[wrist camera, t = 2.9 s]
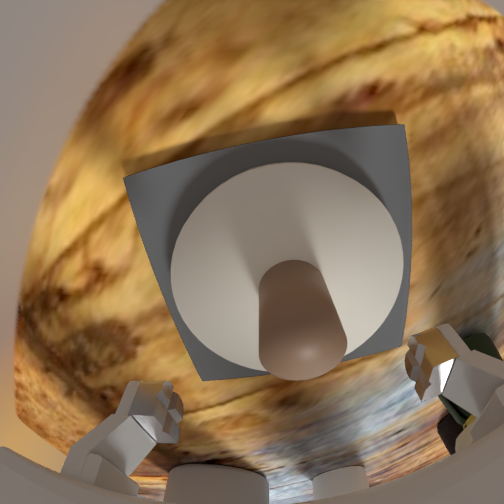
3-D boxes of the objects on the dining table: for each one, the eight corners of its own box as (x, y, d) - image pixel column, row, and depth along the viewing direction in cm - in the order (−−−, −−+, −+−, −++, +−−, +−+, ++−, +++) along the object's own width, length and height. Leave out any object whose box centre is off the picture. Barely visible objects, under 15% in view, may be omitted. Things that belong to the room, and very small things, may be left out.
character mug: (440, 314, 15) (536, 469, 3) (504, 293, 14) (595, 401, 2) (408, 407, 19) (447, 523, 7) (466, 384, 19) (514, 481, 7)
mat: (398, 124, 11) (404, 124, 10) (398, 340, 16) (401, 346, 15) (128, 175, 12) (122, 178, 11) (203, 374, 17) (202, 381, 16)
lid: (388, 146, 11) (457, 159, 6) (389, 337, 15) (420, 399, 10) (146, 194, 12) (87, 231, 7) (213, 370, 16) (202, 437, 11)
